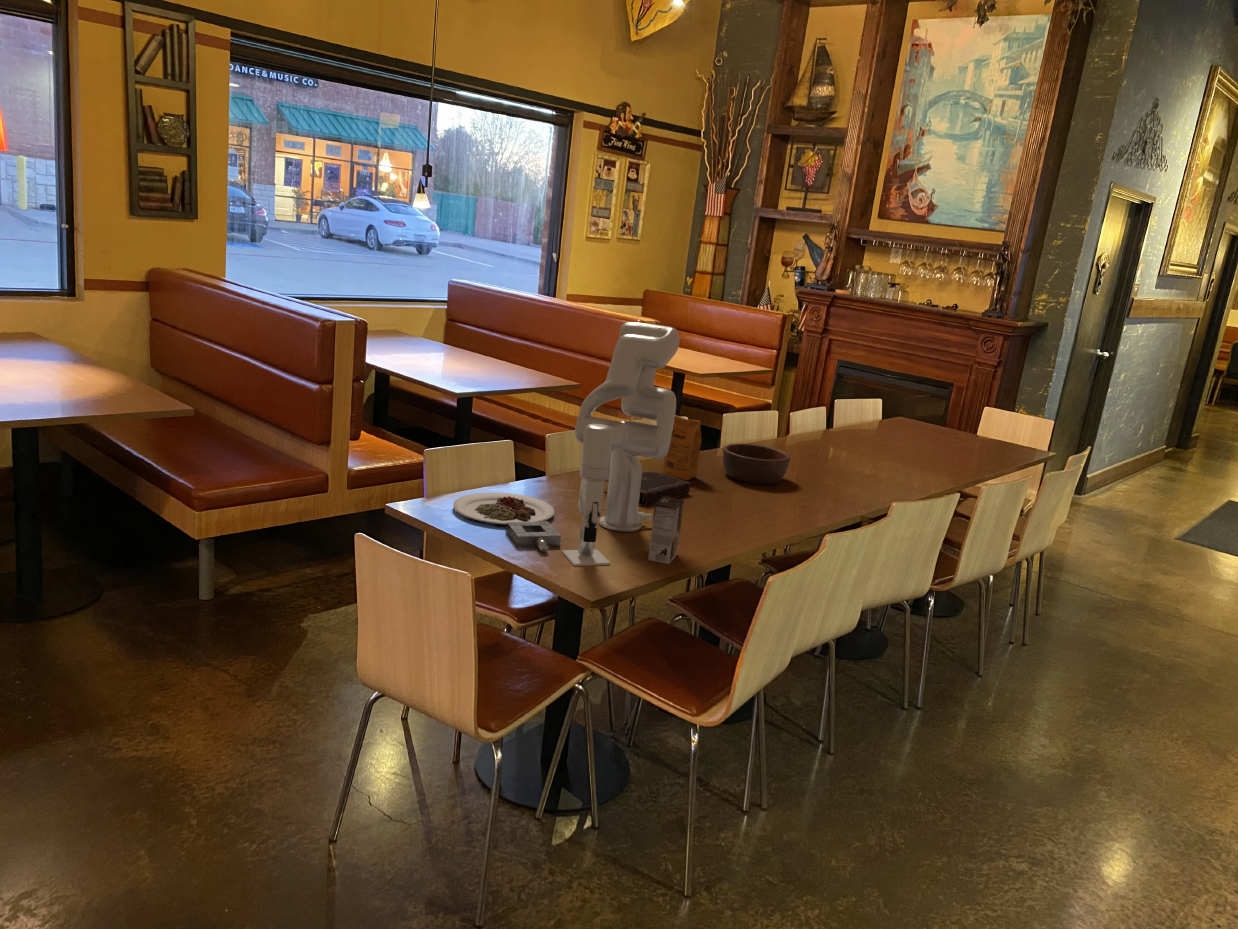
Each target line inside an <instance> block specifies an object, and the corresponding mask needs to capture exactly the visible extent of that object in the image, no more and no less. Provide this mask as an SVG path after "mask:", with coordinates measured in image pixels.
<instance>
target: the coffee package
mask: <svg viewBox="0 0 1238 929" xmlns="http://www.w3.org/2000/svg"><path fill="white" fill-rule="evenodd" d="M701 425H702V420H698V419H690V418H689V419H688V418H687V419H686V418H683V417H681V416H679V415H677V414H675V418H674V424H673V430H672V436H671V442H670V447H669V451H668V453H667V455H666V456H665V457H664V458H663V464H662V472H661V473H662V474H665V475H668V476H671V477H674V478H677V479H680V480H683V481H690V480H691V479H693V478H696V476H697V474H698V462H699V458H700V452H701V446H702V431H701Z"/></svg>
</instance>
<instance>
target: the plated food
mask: <svg viewBox="0 0 1238 929" xmlns="http://www.w3.org/2000/svg"><path fill="white" fill-rule="evenodd" d="M452 504H453V509H454V511H456V512H457V513H458V514H460V515H461V516H464V517H465V518H469V519H471V520H474V521H479V522H484V523H487V524H494V525H500V526H501V525H502V526H503V525H504V526H507V522H544V521H548V520H550V519H551V518H553V517H554V515H555V509H554V507H553V506H552V505H551V504H549V503H548V502H546V501H544V500H542V499H538V498H536V497H532V496H529V495H523V494H518V493H508V492H478V493H470V494H466V495H462V496H460V497H458V498H457V499H455V500H454V502H453V503H452Z"/></svg>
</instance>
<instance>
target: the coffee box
mask: <svg viewBox="0 0 1238 929" xmlns="http://www.w3.org/2000/svg"><path fill="white" fill-rule="evenodd" d="M684 502H685V499H682V498H678V497H675V498H674V497H669V496H662V497H661V498H660V499H659V500H658V501H657V502H656V503H654V508H653V515H652V523H651V524H652V526H651V534H650V541H649V542H650V543H649V550H648V556H647V557H648V558H647V559H648V561H652V562H656V563H661V564H666V565H671V563H672V562H673V561H674V559H675V558H676V556H677V555H678V552H679V544H680V543H679V542H680V535H681V528H682V518H683V512H684V511H683V510H684V505H685V504H684Z"/></svg>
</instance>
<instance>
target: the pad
mask: <svg viewBox="0 0 1238 929" xmlns="http://www.w3.org/2000/svg"><path fill="white" fill-rule="evenodd" d="M578 550H579V549H568V550H567V549H564V550H561V553H562V554H563V555H564V557H565V558H566V559H567V560H568V561H569V563H570V564H572V566H573V567H585V566H610V565H611V562H610V560H608V559H607V557H605V555H603V554H602V553H601V551H599V549H596V548H594V552H593V555H592V556H583V555H580V554H579V553H578Z"/></svg>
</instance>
